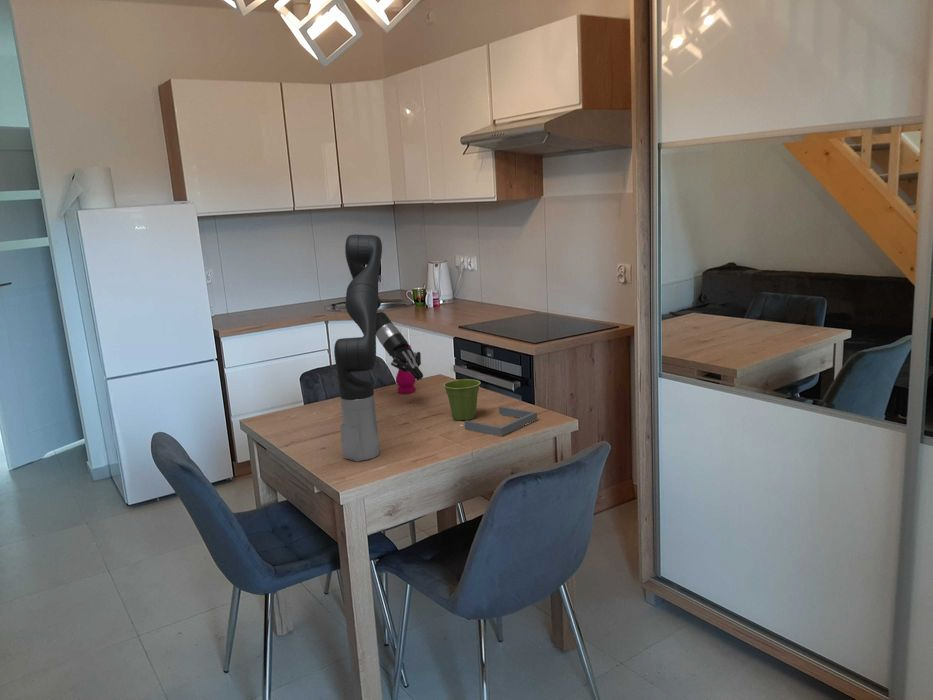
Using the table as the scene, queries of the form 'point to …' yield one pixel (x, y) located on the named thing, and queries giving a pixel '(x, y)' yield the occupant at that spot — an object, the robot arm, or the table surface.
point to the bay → (500, 431)
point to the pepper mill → (405, 381)
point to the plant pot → (462, 398)
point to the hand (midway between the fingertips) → (420, 378)
